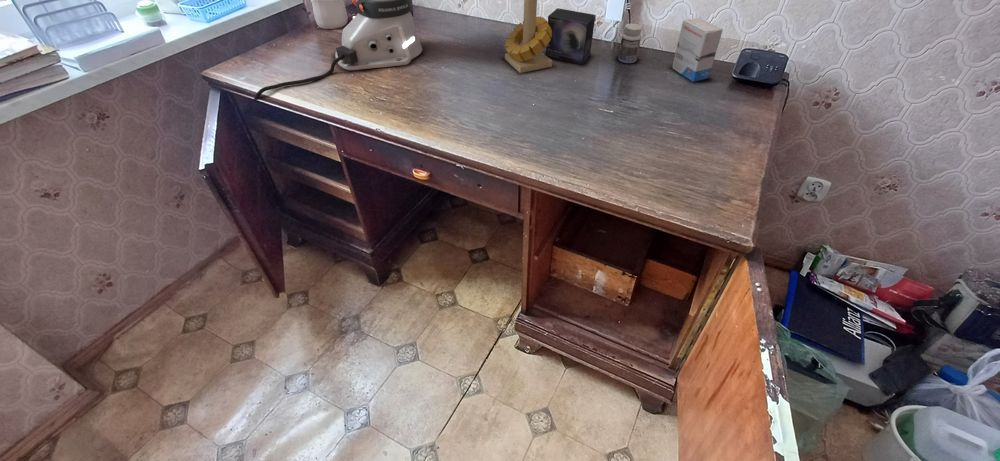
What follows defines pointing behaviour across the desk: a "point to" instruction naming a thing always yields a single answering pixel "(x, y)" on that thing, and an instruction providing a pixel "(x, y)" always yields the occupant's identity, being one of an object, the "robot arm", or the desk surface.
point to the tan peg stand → (528, 35)
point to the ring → (533, 46)
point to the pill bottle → (630, 43)
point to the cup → (330, 13)
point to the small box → (570, 35)
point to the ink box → (696, 49)
